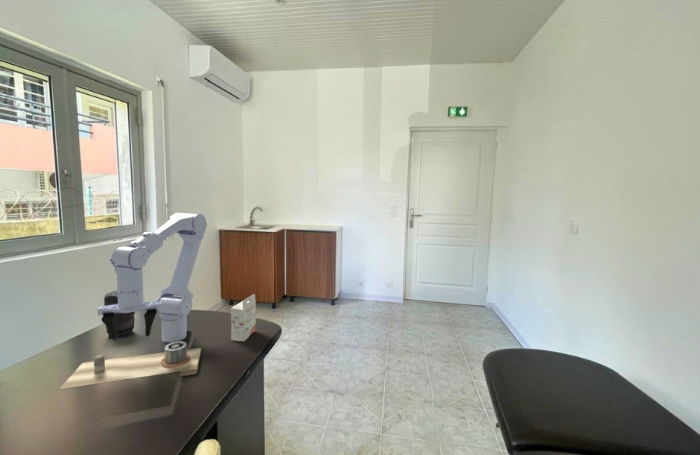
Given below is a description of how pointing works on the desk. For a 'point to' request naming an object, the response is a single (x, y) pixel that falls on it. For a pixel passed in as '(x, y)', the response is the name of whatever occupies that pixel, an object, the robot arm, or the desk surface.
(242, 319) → the ink cartridge box
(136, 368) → the stand board
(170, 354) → the collar
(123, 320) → the camera lens
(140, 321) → the desk surface
